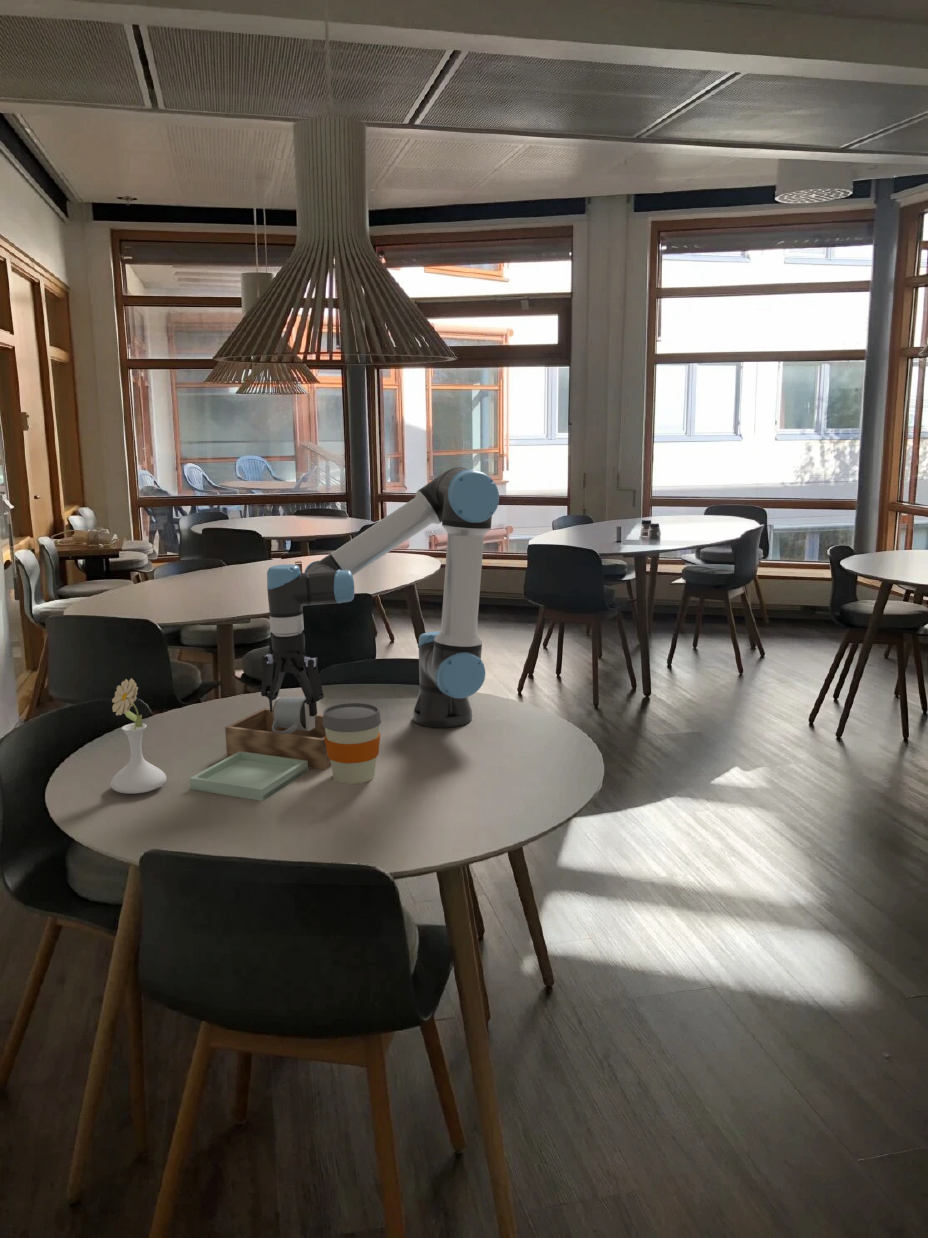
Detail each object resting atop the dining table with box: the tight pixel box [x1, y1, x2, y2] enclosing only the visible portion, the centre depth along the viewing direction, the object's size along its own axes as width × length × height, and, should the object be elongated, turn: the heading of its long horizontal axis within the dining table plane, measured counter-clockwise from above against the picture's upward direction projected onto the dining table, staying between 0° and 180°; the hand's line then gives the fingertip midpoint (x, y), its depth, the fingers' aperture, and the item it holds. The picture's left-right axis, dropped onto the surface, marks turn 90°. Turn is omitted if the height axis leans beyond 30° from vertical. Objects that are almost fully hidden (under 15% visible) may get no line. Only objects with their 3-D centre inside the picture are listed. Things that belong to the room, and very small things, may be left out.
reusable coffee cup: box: [322, 702, 382, 785], centre depth 213 cm, size 13×13×15 cm
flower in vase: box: [110, 678, 168, 795], centre depth 205 cm, size 13×11×25 cm
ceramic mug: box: [272, 696, 316, 734], centre depth 227 cm, size 11×8×8 cm
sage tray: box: [189, 751, 309, 802], centre depth 212 cm, size 18×18×2 cm
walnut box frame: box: [224, 707, 332, 771], centre depth 229 cm, size 26×16×7 cm, turn 68°
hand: (294, 727), depth 229 cm, fingers closed on ceramic mug, 8 cm apart
